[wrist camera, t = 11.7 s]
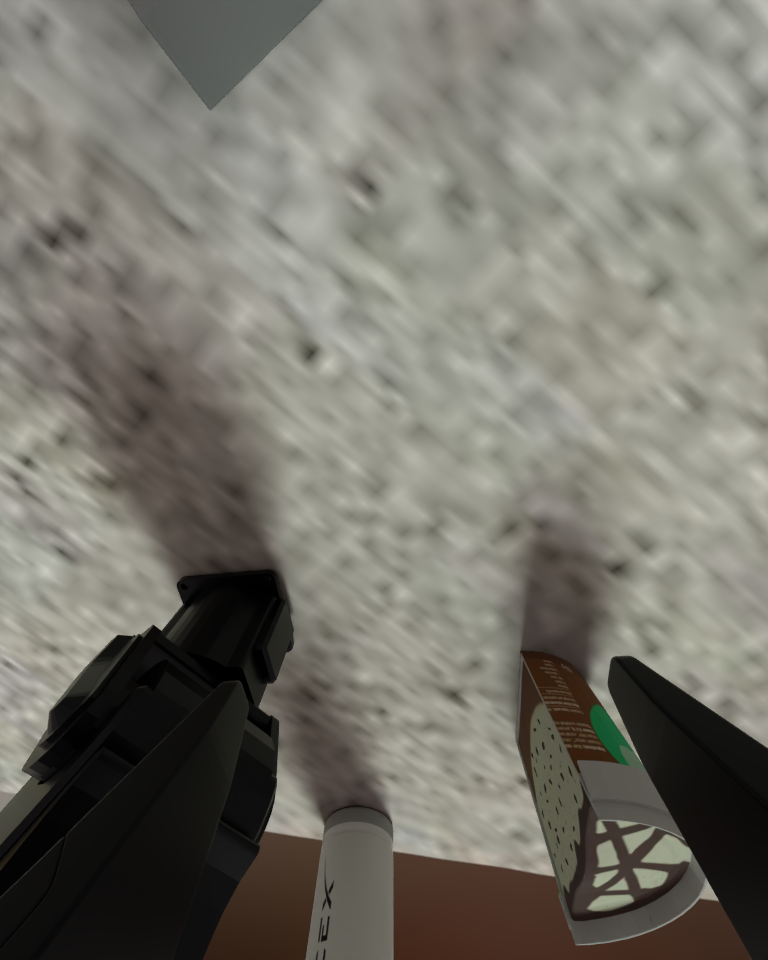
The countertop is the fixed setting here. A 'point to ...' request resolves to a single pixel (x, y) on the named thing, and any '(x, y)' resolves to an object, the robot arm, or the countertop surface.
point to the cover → (219, 36)
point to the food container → (598, 811)
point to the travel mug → (354, 889)
